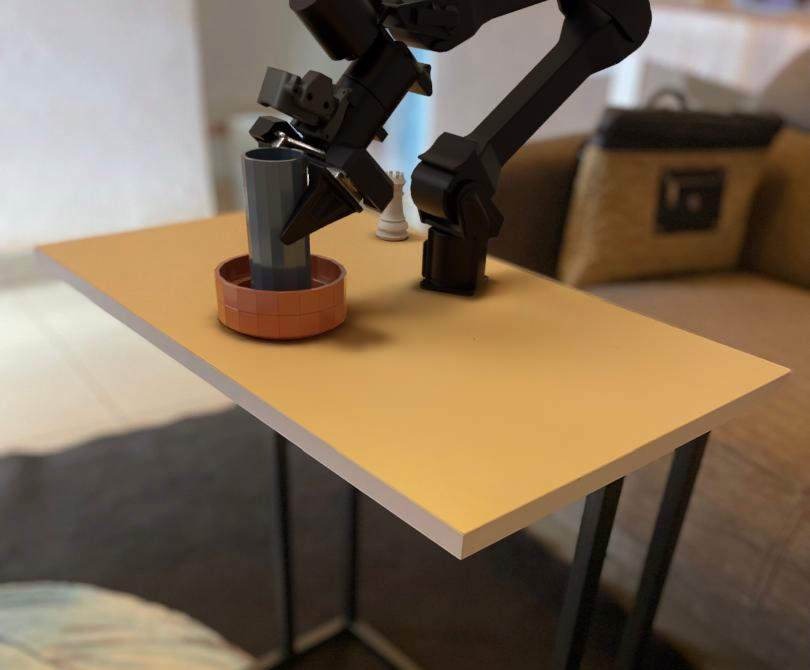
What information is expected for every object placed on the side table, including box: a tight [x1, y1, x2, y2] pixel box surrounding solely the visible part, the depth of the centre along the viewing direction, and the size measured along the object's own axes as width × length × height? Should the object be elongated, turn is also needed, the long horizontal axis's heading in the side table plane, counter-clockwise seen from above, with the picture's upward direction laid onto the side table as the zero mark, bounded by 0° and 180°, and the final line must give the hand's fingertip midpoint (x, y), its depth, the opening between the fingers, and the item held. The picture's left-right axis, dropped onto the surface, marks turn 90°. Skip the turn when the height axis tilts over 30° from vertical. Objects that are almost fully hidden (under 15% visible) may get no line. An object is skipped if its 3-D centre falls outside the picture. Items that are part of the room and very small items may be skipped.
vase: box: [240, 147, 312, 292], centre depth 81 cm, size 6×6×14 cm
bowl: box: [213, 252, 348, 341], centre depth 85 cm, size 13×13×5 cm
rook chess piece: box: [375, 170, 410, 242], centre depth 110 cm, size 4×4×8 cm
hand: (266, 233), depth 81 cm, fingers closed on vase, 6 cm apart
